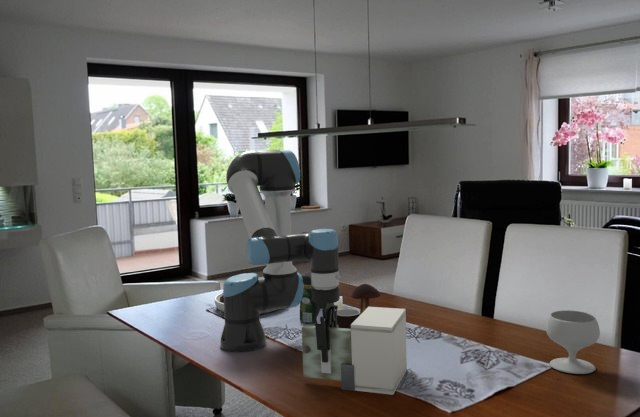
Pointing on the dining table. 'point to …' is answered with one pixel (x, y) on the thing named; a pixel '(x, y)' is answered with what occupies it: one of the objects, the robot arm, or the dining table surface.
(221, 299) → the bowl
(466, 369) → the dining table surface
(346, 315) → the coffee mug
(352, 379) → the hinge clip
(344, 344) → the cabinet door
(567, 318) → the chalice
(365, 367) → the cabinet
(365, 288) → the decorative mushroom
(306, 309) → the coffee jar
